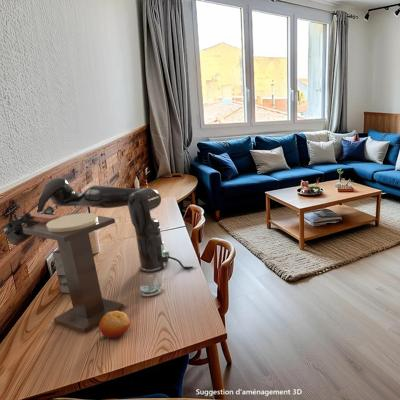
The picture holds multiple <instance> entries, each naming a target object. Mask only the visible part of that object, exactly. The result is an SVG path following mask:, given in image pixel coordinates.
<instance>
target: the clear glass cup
mask: <svg viewBox="0 0 400 400" xmlns="http://www.w3.org/2000/svg"><path fill="white" fill-rule="evenodd" d="M155 281H156V279H155V276H154V275H147V276H146V277H145V283H146V284H147V285H141V286H139V289H140V291H141V296H143V297H153V296H157V295H158V294H160V293H161V292H162V290H161V289H160V288H161V287H162V286H163V284H162V282H157V283H156V284H155Z"/></svg>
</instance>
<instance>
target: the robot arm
mask: <svg viewBox="0 0 400 400" xmlns="http://www.w3.org/2000/svg"><path fill="white" fill-rule="evenodd" d="M46 183H47V184H46ZM46 183H45V184H46V185H45V184H44V185H45V188H44V190H43V192H42V195H41V197H40V199H39V203H38V210H37V213H39V214H48V215H56V213H55V209H54V207H53V206H52V205H49V206H47V207H46V205H47V203H48V201H51V203H52V204H54V205H55V206H57V207H85V208H89V207H90V208H98V209H116V208H122V207H127V209H128V213H129V216H130V221H131V224H132V226H133V227H134V231H135V238H136V244H137V250H138V256H139V257H138V258H139V263H140V270H142V272H147V273H151V272H152V273H153V272H157V271H160V270H163V269H165V266H166V264H167V263H169V259H170V260H173V261H176V262H177V263H178V264H179V265H180V267H181V268H182V269H185V270H189V269H194V266H184V265H183V263H182V262H181V261H180V260H179V259H178V258H175V257H173V256H170V251H166V250H165V245H164V244H165V243H164V241H163V239H162V231H161V226H160V221H159V220H158V219H157V218H154V217H152V215H151V212H152V211H154V210H155V209H157V208H158V207H159V206H160V205H161V203H162V197H161V194H160V192H158V191H157V190H156V189H153V188H151V187H140V188H137V187H136V188H134V187H133V188H130V187H121V186H119V187H118V186H111V185H110V186H108V185H92V186H90V187H88V188H86V189H85V190H84V191H83V192H77V191H75V190H74V188H73V186H71V184H70V183H69V182H68V181H67V179H66V178H64V177H55V178H52V179H50V180H48V181H46ZM45 207H46V208H45ZM31 219H32V216H31V215H30V213H29V212H28V213H25V214H24V215H23V216H19V215H18V216H16V217H14V218H12V219H10V221H8V222H7V223H5V224H4V225H3V226H2V227H1V229H2V230H4V232H5V234H6V235H7V239H8V241H9V242H10V243H11V244H13V245H16V246H18V245H20V244H21V243H22V244H23V243H25V242H26V241H28V240H29V239H30V238H32V237H33V236H34V235H29V234H24V233H23V228H26V227H29V226H32V225H35V224H39V223H42V222H39V221H31ZM22 244H21V245H22ZM21 245H20V246H21Z"/></svg>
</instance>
